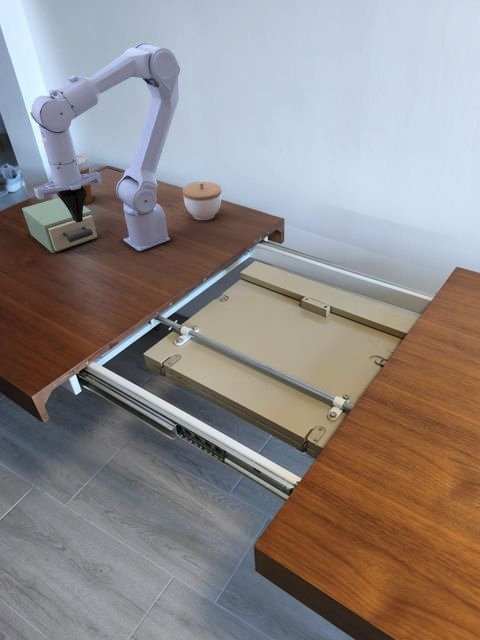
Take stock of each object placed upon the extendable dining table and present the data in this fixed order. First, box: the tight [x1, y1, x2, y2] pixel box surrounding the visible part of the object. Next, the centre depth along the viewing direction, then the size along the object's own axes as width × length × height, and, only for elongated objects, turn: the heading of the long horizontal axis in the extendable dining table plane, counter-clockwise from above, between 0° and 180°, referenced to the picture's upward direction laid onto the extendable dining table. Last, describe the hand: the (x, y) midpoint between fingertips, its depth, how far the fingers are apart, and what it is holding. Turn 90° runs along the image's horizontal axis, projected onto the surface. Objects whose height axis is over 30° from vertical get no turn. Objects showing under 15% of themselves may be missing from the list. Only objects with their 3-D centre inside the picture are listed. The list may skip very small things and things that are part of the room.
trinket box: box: [181, 181, 222, 221], centre depth 132 cm, size 11×11×9 cm
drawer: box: [48, 215, 98, 252], centre depth 120 cm, size 17×11×6 cm
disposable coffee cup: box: [76, 154, 93, 205], centre depth 138 cm, size 10×10×12 cm
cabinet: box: [21, 197, 99, 254], centre depth 122 cm, size 13×12×7 cm
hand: (78, 220), depth 109 cm, fingers closed
